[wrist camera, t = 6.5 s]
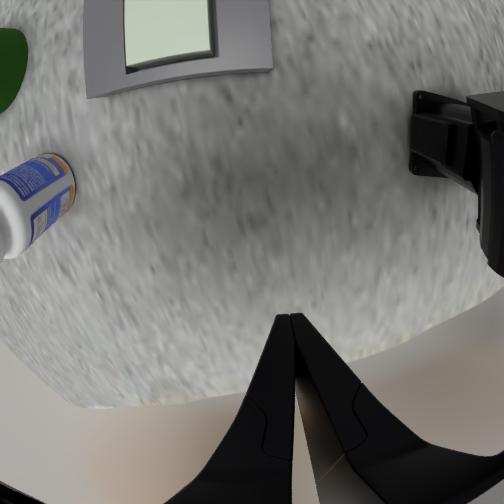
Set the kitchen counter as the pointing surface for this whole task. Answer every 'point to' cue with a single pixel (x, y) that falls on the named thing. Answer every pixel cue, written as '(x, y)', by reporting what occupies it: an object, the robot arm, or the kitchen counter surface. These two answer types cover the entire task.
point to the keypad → (224, 62)
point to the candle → (11, 65)
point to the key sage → (167, 31)
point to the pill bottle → (32, 201)
